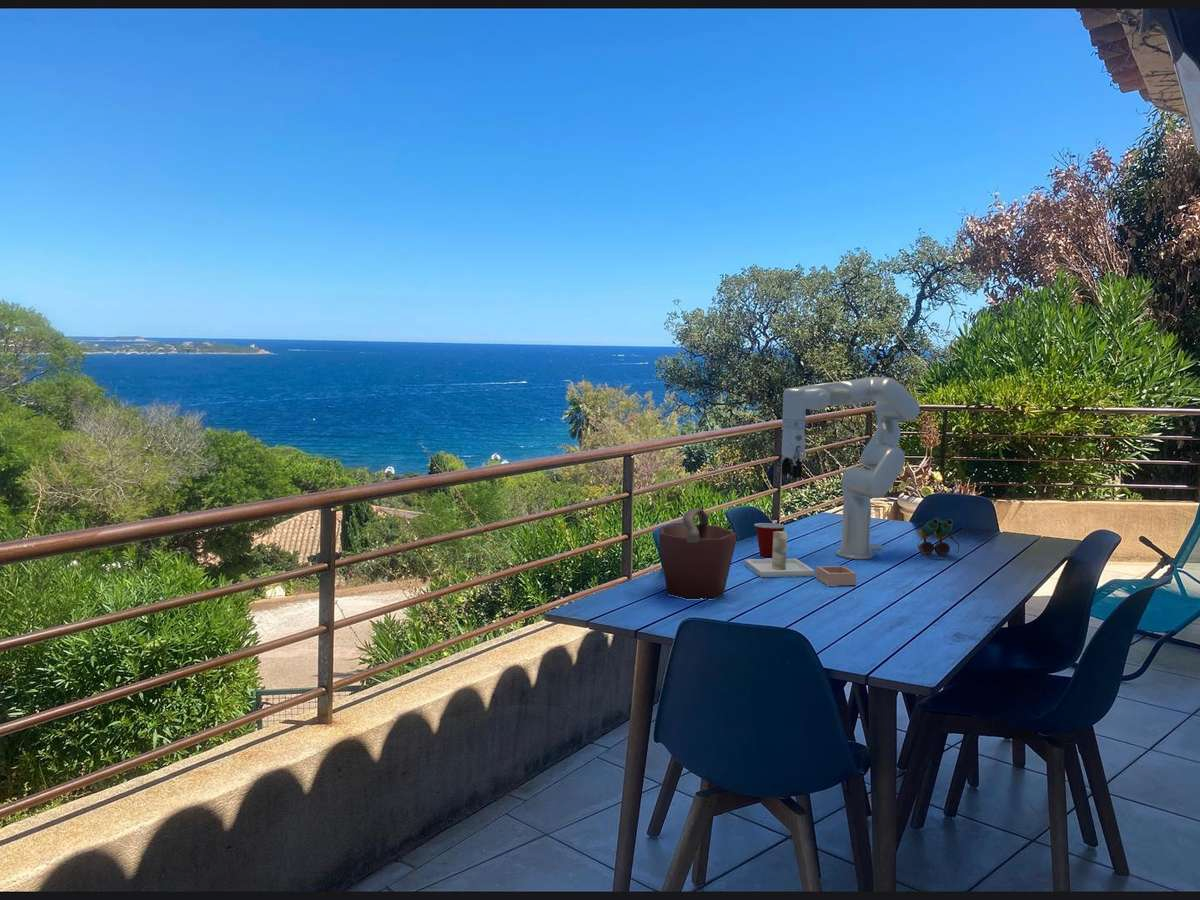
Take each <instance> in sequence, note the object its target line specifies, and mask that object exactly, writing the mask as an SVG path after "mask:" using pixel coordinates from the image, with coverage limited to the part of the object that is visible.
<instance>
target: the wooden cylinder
mask: <svg viewBox="0 0 1200 900" xmlns="http://www.w3.org/2000/svg"><path fill="white" fill-rule="evenodd" d="M787 544H788V532H787V531H775V532H773V555H772V569H775V570H785V569H786V559H787V548H788V547H787Z"/></svg>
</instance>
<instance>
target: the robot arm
mask: <svg viewBox="0 0 1200 900" xmlns="http://www.w3.org/2000/svg"><path fill="white" fill-rule="evenodd" d="M871 402H875V406H874V407H875V408H874V409H875V415H876V420H877V426H876V427H877V428H876V430H875V432H874V434H873V435H872V436H871V438H870V440H869V441H868V443H866V444H867V445H866V446H865V447H864V449H863V450H862V453H861V454H860V463H861V465H862V466H864V467H865V468H864V467H859V466H854V467H853V466H852V467H850V468H847V469H846V470H844V472H843V474H842V476H841V489H842V497H843V499H842V500H843V501H842V502H843V503H842V505H843V508H842V523H841V524H842V526H841V545H840V546H841V547H840V548H838V549H837V550H836V552H835V553H836V555H837V556H839V557H841V558H845V559H852V560H869V559H872V558H873V557H874V553H873V552H874V551H878V552H880V551H883V545H881V544H879V545H878V544H877V545H876V544H873V543H870V539H871V538H870V536H871V521H872V520H871V518H872V503H871V498H872V499H880V498H883V497H884V496H885V495H886V494H887V493H888V492H889V491H890V490H891V487H892V486H893V485H894V483H895V481H897V478H898V477H899V476H900V473H901V472H902V470H903V469H904V466H905V463H906V462H905V461H906V457H905V455H906V454H905V452H904V451H903V449H902V448H901V447H899V446H897V445H898V443H899V441H900V439H901V429H900V425H899V422H911V421H913V420H915V419H916V418H918V416H919V415H920V410H921V409H920V408H921V407H920V404H919V402H918V400H917V399H916V398H915V396H914V395H913V394H911V392H910V391H909V390H907V389H906V387H904V386H903V385H902V384H901V383H900V382H899V381H897V380H896V379H894V378H892V377H884V376H883V377H881V376H869V377H862V378H857V379H850V380H849V379H848V380H842V381H833V382H826V383H816V384H808V385H802V386H798V387H786V388H785V389H784V390H783V396H782V419H781V420H782V421H781V422H782V423H781V424H782V425H781V430H783V431H782V432H783V433H782V440H781V474H792V475H791V476H792V478H794V479H795V478H799V479H800V478H802V477H803V466H804V461H805V460H804V459H805V458H806V433H805V430H806V414H807V413H806V411H807V410H813V411H819V410H821V411H822V410H823V409H826V408H827V407H828V406H839V407H840V406H842V407H843V406H853V405H858V404H862V403H871ZM792 463H793V465H792Z"/></svg>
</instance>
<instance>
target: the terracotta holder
mask: <svg viewBox="0 0 1200 900" xmlns="http://www.w3.org/2000/svg"><path fill="white" fill-rule="evenodd" d="M815 573H816V574H815V575H816V577H815V579H816V578H817V579H818V580H817V579H816V580H817V581H819V580H820V581H821V582H820V581H819V582H820V583H822V582H823V583H825V584H826V585H829V586H831V585H857V584H856V583H857V573H856V572H855V571H853V570H851V569H850V568H848V567H846V566H845V565H831V566H830V565H829V566H827V565H822V566H820V565H819V566H816V571H815ZM823 583H822V584H823ZM825 584H824V585H825ZM826 585H825V586H826Z"/></svg>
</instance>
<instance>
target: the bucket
mask: <svg viewBox="0 0 1200 900" xmlns="http://www.w3.org/2000/svg"><path fill="white" fill-rule="evenodd" d="M696 516H697V517H698V521H699V524H697V523H695V518H696ZM682 521H683V523H680V524H673V525H672V524H671V525H663V526H660V530H659V548H660V549H659V550H660V556H661V562H662V568H663V574H664V580H665V587H666V594H667V595H668V594H670V595H674V596H678V597H682V598H685V599H700V598H703V599H705V598H706V599H714V598H716V597H718V596H720V595H722V594H723V593H724V594H725V590H726V586H727V581H728V577H729V574H730V573H729V572H730V568H731V565H732V561H733V557H734V556H733V555H734V552H735V548H736V544H737V543H736V542H737V541H736V540H737V532H735V531H732V530H730V529H727V528H725V527H723V526H721V525H713V524H712V525H710V524H709V522H710V521H709V517H708V514H707V513H706V512H705V511H704V509H702V508H689V510H686V512H685V514H684V515H683V517H682ZM724 594H723V595H724ZM723 595H722V596H723ZM720 597H721V596H720ZM718 598H719V597H718ZM716 599H717V598H716Z"/></svg>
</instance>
